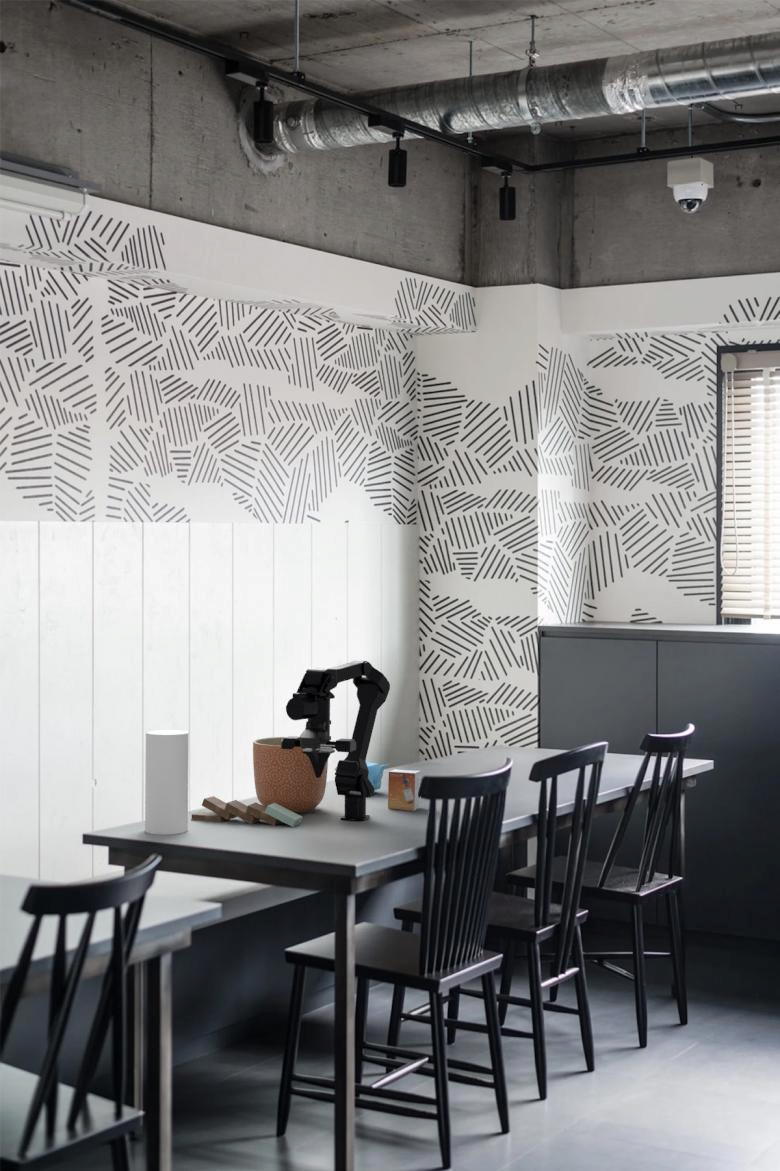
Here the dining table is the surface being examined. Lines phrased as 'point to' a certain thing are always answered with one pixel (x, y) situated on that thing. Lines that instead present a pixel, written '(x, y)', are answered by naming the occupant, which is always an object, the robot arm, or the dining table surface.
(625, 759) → the dining table surface
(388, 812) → the dining table surface
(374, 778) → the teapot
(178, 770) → the tall pillar cylinder
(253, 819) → the domino
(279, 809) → the domino
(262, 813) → the domino
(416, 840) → the dining table surface
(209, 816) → the domino
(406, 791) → the small box
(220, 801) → the domino
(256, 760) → the planter
